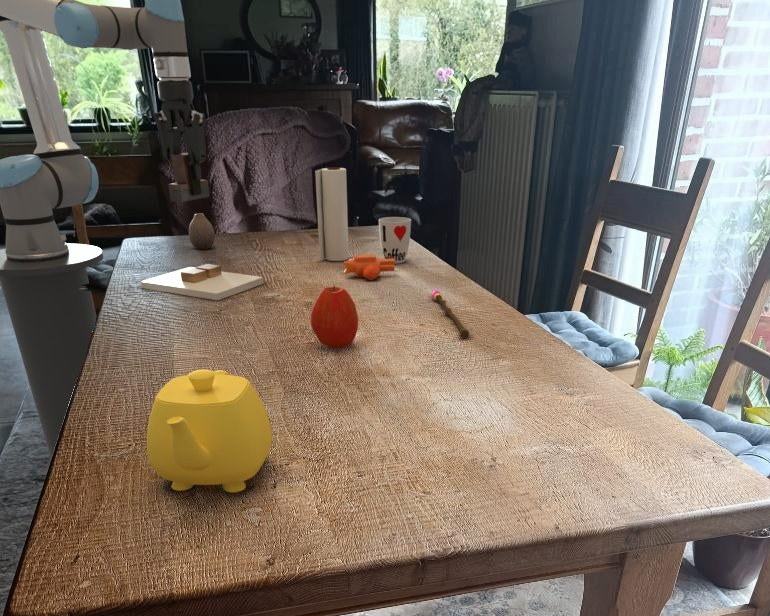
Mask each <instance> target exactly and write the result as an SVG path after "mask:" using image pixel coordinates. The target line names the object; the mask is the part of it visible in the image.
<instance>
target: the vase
mask: <svg viewBox="0 0 770 616" xmlns="http://www.w3.org/2000/svg"><path fill="white" fill-rule="evenodd" d="M188 237H189V241H190V243H191V245H192V246H193V247H194V248H195V249H197V250H208V249H212V247H213V246H214V243H215V239H216V234H215V229H214V226H213V225H212V223H211V222H210V221H209V220H208V219H207V218H206V216H205V214H204V213H201V212H199V213H194V215H193V218H192V220H191V222H190V223H189V226H188Z"/></svg>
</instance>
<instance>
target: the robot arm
mask: <svg viewBox="0 0 770 616" xmlns="http://www.w3.org/2000/svg"><path fill="white" fill-rule="evenodd" d="M185 26H186V25H185V18H184V13H183V7H182V2H181V0H144V6H142V7H123V6H109V5H97V4H90V3H85V2H83V1H78V0H0V32H1V33H2V34H3V35H4V39H5V42H6V45H7V48H8V52H9V55H10V58H11V63H12V66H13V69H14V72H15V75H16V78H17V82H18V85H19V89H20V91H21V95H22V98H23V101H24V105H25V108H26V111H27V115H28V118H29V121H30V124H31V128H32V130H33V134H34V137H35V141H36V147H35V149H34V151H33V154H21V155H13V156H8V157H4V158H1V159H0V208H1V212H2V216H3V220H4V224H5V248H4V249H5V253H6V256H7V259H8V260H10V261H14V262H40V261H48V260H54V259H59V258H62V257H65V256H67V255H69V254H70V252H69V248H68V245H67V242H66V241H67V236H66V233H63V234H62V233H61V231H60V229H59V227H58V225H57V224H56V221H55V217H54V212H53V210H56V209H63V208H69V207H76V206H77V207H78V206H81V205H83V204H87V203H91V202H92V201H93V200H94V199H95V197H96V195H97V193H98V191H99V185H100V183H99V182H100V181H99V175H98V171H97V168H96V166H95V164H94V163H92V160H91V159H90V158H89V157H88V156H85V155H83V152H82V148H81V146H79V145H78V144H77V143H75V142H74V141H73V139H72V135H71V131H70V128H69V124H68V121H67V117H66V114H65V109H64V107H63V103H62V99H61V95H60V93H59V88H58V85H57V81H56V77H55V75H54V71H53V67H52V64H51V60H50V57H49V54H48V49H47V46H46V42H45V38H44V35H43V32H45V33H47V34H51V35H53V36H56V37H58V38H60V39H61V40H62V41H63V43H64V44H65V45H67V46H70V47H73V48H80V49H89V48H92V49H93V48H94V49H119V50H125V51H126V50H128V51H132V50H145V49H151V51H152V57H153V64H154V71H155V76H156V78H157V79H159V81H157V83H156V84H157V85H156V86H157V92H158V98H159V100H160V101H161V102H162V103H161V104H162V105H161V110H160V111H159V112H154V113H153V118H154V121H155V123H156V125H157V131H158V135H159V141H160V145H161V151H162V157H163V159H164V161H168V162H169V163H171V167H172V175H173V178H174V179H175V175H174V168H173V161H172V154H180V153H182V148H181V147H182V146H181V144H182V142H181V140H182V139H181V138H183V140H184V144H185V149H186V153H188V156H189V160H190V162H189V163H188V164H189V165H188V171H189V179H190V186H191V193H192V195H199V194H202V192H201V184H200V179H201V180H202V170H201V163H203V162H206V161H207V147H206V136H205V135H206V133H205V120H206V115H205V113H204V112H202V113H201V112H198V111H196V110H195V107H194V104H193V100H194V91H193V83H192V82H191V80H190V79H191V77H192V74H191V73H192V72H191V65H190V59H189V52H188V46H187V38H186V37H187V36H186V27H185ZM181 134H182V136H183V137H181ZM194 157H195V158H194Z"/></svg>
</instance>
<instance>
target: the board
mask: <svg viewBox="0 0 770 616" xmlns="http://www.w3.org/2000/svg"><path fill="white" fill-rule="evenodd" d="M192 268H193V269H196V267H193V266H188V267H185V268H181V269H177V270H175V271H171V272H168V273H165V274H161V275H158V276H155V277H151V278H147V279H144V280H141V281H140V285H141V288H142V289H144V290H151V291H156V292H157V291H158V292H164V293H170V294H176V295H181V296H189V297H193V298H201V299H206V300H212V301H216V302H217V301H220V300H223V299H226V298H228V297H232V296H234V295H237V294H239V293H243V292H245V291H247V290H250V289H253V288H255V287H258V286H261V285H263V284H264V277H263V276H258V275H250V274H245V273H244V274H243V273H236V272H230V271H222V270H221V274H222V275H219V276H216V277H212V278H207V279H206V280H203V281H200V282H197V283H191V282H185V281H182V279H181V273H180V272H182V271H186V270H189V269H192Z"/></svg>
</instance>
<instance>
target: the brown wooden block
mask: <svg viewBox="0 0 770 616" xmlns="http://www.w3.org/2000/svg"><path fill="white" fill-rule="evenodd" d="M180 273H181V279H182V281H185V282H191V283H197V282H200V281H203V280H206V279H207V275H206V270H200V269H193V268H192V269H189V270H186V271H182V272H180Z"/></svg>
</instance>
